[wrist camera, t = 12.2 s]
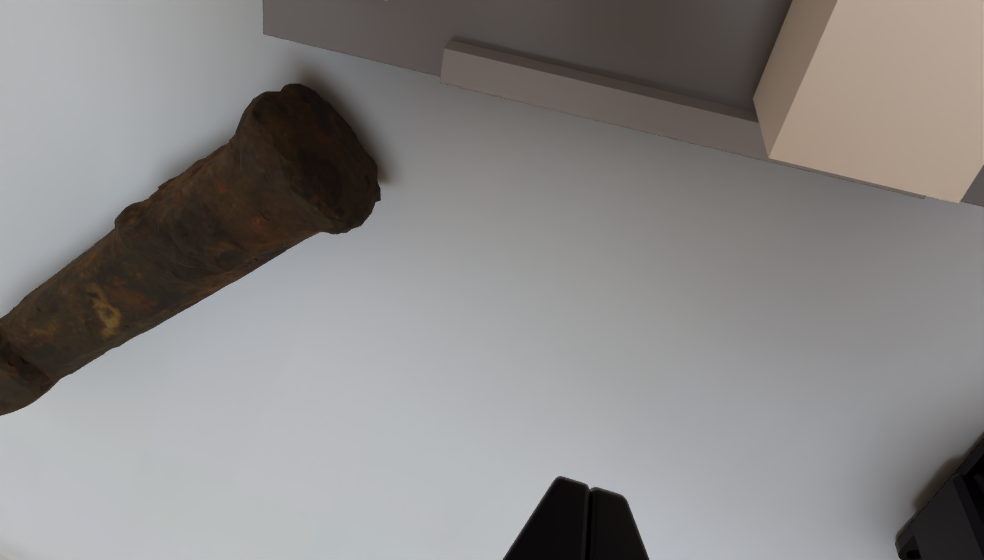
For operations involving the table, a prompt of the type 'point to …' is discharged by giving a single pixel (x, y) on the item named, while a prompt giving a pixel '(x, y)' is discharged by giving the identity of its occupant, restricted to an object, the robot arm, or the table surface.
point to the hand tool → (193, 239)
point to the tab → (879, 92)
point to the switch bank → (578, 57)
